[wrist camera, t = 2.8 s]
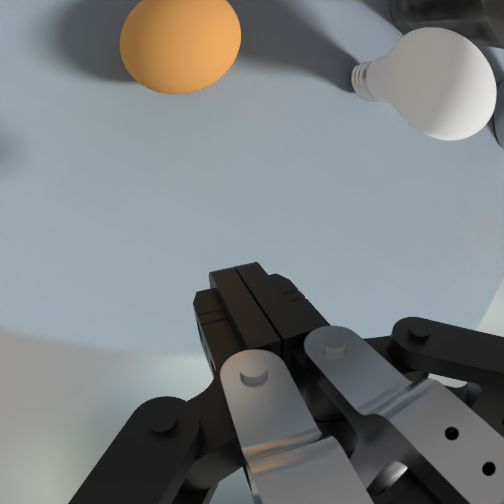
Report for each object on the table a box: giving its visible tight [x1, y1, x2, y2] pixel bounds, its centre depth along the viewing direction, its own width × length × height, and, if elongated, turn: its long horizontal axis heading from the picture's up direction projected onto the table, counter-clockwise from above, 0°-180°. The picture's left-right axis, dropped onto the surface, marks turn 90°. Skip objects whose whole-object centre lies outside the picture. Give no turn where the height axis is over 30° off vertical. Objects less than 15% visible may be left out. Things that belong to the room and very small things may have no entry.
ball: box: [120, 0, 241, 94], centre depth 12 cm, size 6×6×6 cm
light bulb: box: [351, 27, 497, 140], centre depth 15 cm, size 7×7×11 cm
